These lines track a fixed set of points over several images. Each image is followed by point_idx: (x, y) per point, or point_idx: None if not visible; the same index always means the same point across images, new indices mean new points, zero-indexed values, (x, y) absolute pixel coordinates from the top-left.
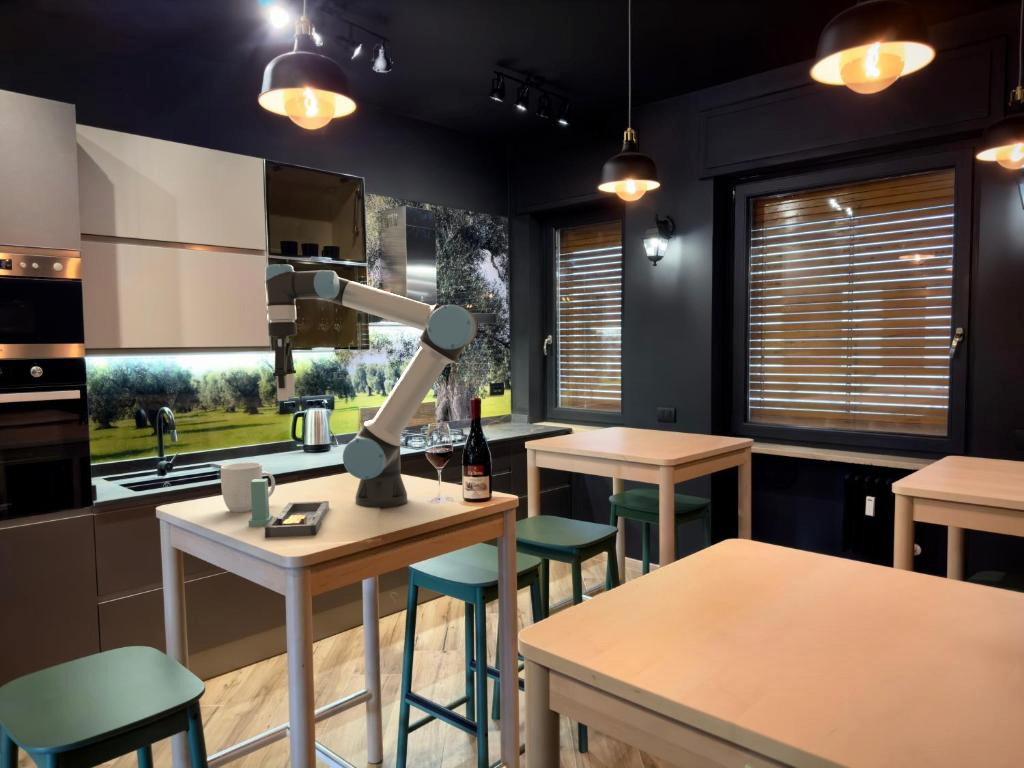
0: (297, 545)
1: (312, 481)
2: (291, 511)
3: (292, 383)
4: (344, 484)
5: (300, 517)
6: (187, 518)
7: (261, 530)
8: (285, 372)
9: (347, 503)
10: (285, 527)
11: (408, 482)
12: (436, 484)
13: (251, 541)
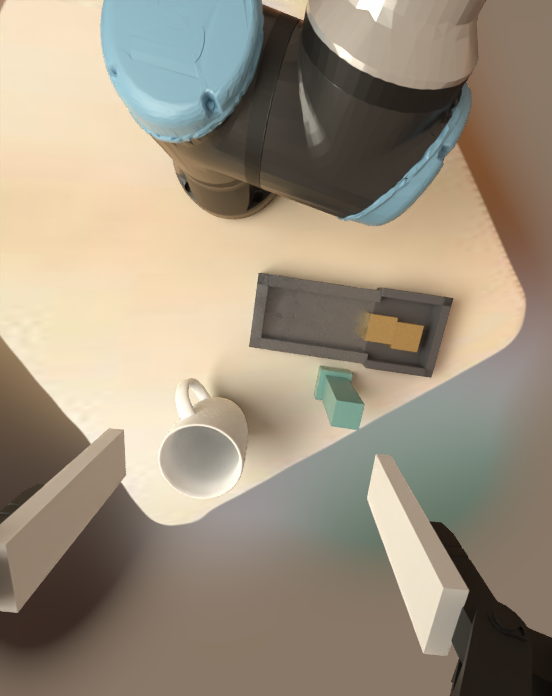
0: (475, 324)
1: None
2: (284, 339)
3: (70, 489)
4: (30, 235)
5: (387, 324)
6: (248, 487)
7: (363, 380)
8: (527, 639)
9: (217, 235)
10: (438, 346)
11: (29, 68)
12: None
13: (421, 389)
